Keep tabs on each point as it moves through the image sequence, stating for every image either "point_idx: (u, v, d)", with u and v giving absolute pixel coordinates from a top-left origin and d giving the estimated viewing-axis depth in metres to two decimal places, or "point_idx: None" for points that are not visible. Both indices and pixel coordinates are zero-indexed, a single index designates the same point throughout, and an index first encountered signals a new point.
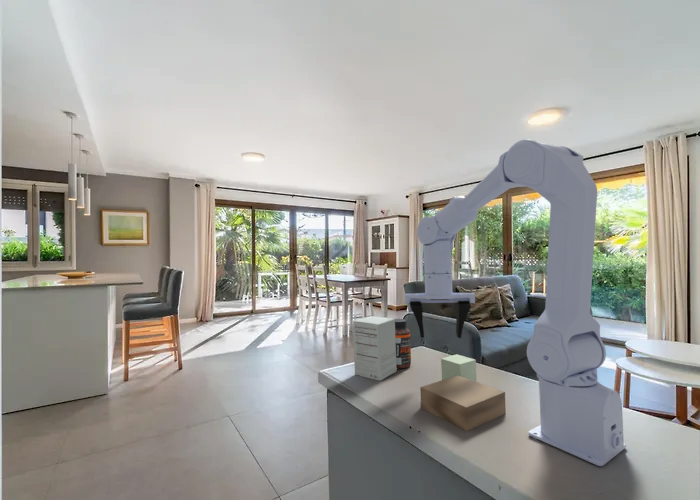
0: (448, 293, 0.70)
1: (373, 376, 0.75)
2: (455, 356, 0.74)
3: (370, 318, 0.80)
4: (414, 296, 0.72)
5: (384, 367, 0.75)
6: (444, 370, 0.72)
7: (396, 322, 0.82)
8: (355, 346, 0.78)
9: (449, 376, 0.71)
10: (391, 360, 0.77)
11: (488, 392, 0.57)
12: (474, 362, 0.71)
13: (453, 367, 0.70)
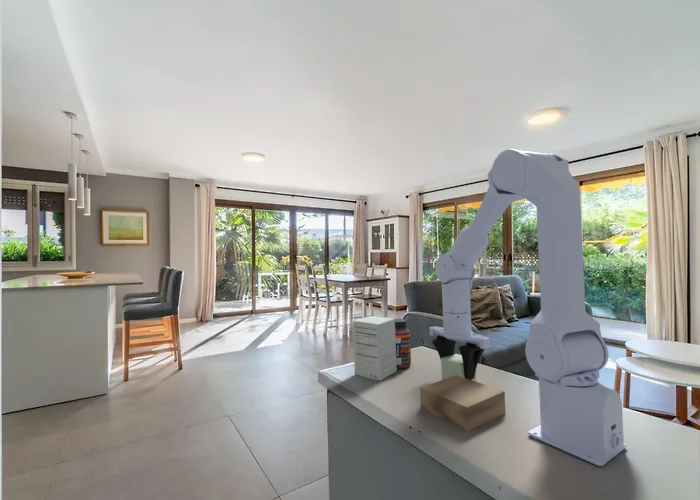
0: (456, 334, 0.69)
1: (373, 376, 0.75)
2: (455, 356, 0.74)
3: (370, 318, 0.80)
4: (434, 330, 0.75)
5: (384, 367, 0.75)
6: (444, 370, 0.72)
7: (396, 322, 0.82)
8: (355, 346, 0.78)
9: (449, 375, 0.71)
10: (391, 360, 0.77)
11: (487, 392, 0.57)
12: None
13: (453, 367, 0.70)
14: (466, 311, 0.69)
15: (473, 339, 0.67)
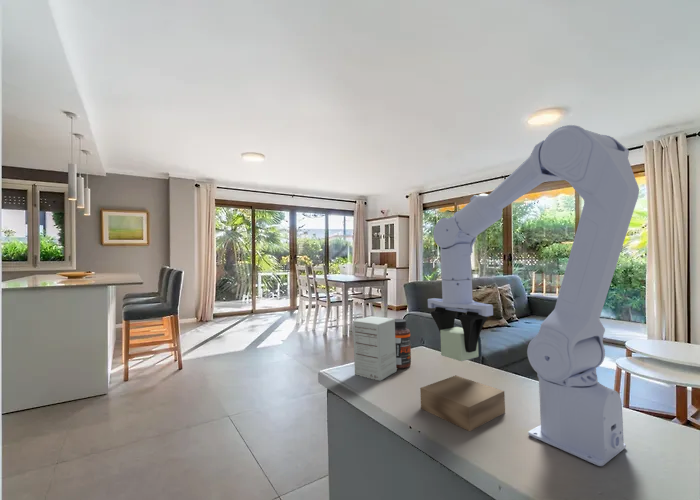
0: (456, 302, 0.64)
1: (373, 376, 0.75)
2: (455, 328, 0.68)
3: (370, 318, 0.80)
4: (433, 301, 0.70)
5: (384, 367, 0.75)
6: (443, 343, 0.67)
7: (396, 322, 0.82)
8: (355, 346, 0.78)
9: (449, 348, 0.65)
10: (391, 360, 0.77)
11: (488, 392, 0.57)
12: None
13: (453, 339, 0.64)
14: (468, 277, 0.64)
15: (474, 306, 0.61)
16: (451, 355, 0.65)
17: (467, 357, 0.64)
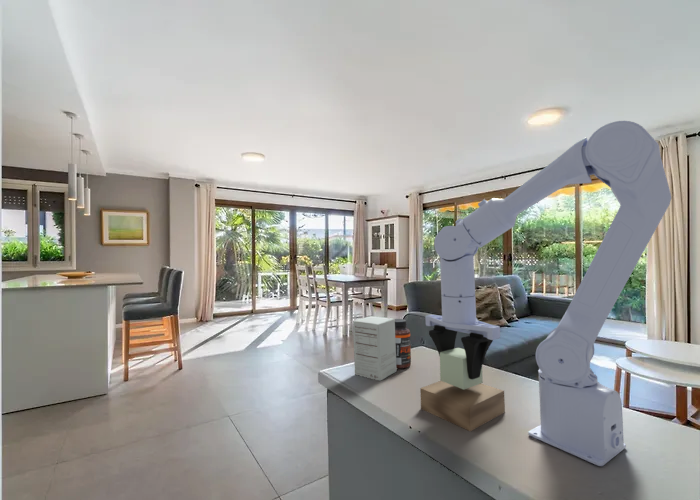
0: (458, 322, 0.56)
1: (373, 376, 0.75)
2: (457, 350, 0.61)
3: (370, 318, 0.80)
4: (431, 319, 0.63)
5: (384, 367, 0.75)
6: (443, 367, 0.59)
7: (396, 322, 0.82)
8: (355, 346, 0.78)
9: (449, 374, 0.58)
10: (391, 360, 0.77)
11: (487, 392, 0.57)
12: None
13: (454, 363, 0.57)
14: (474, 293, 0.58)
15: (479, 328, 0.54)
16: (452, 381, 0.57)
17: (470, 384, 0.56)
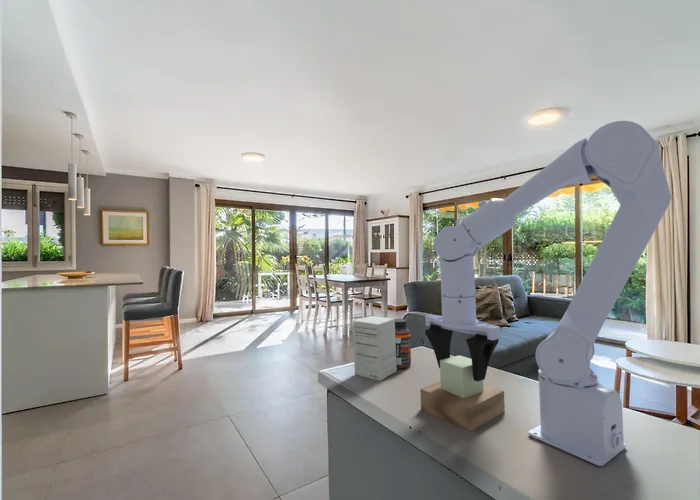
0: (458, 322, 0.56)
1: (373, 376, 0.75)
2: (457, 357, 0.61)
3: (370, 318, 0.80)
4: (431, 319, 0.63)
5: (384, 367, 0.75)
6: (443, 375, 0.59)
7: (396, 322, 0.82)
8: (355, 346, 0.78)
9: (449, 382, 0.58)
10: (391, 360, 0.77)
11: (487, 392, 0.57)
12: None
13: (454, 371, 0.57)
14: (474, 294, 0.58)
15: (479, 328, 0.54)
16: (452, 390, 0.57)
17: (470, 393, 0.56)
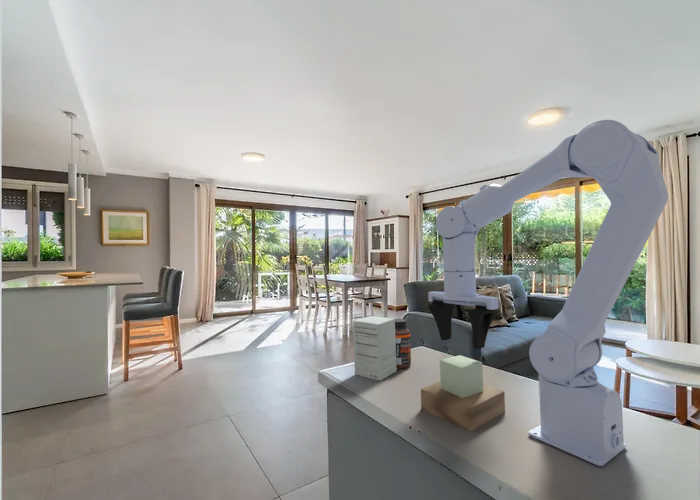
0: (459, 295, 0.61)
1: (373, 376, 0.75)
2: (457, 357, 0.61)
3: (370, 318, 0.80)
4: (434, 294, 0.67)
5: (384, 367, 0.75)
6: (443, 375, 0.59)
7: (396, 322, 0.82)
8: (355, 346, 0.78)
9: (449, 382, 0.58)
10: (391, 360, 0.77)
11: (488, 392, 0.57)
12: (480, 366, 0.58)
13: (454, 371, 0.57)
14: (473, 269, 0.61)
15: (479, 299, 0.58)
16: (451, 390, 0.57)
17: (469, 393, 0.56)
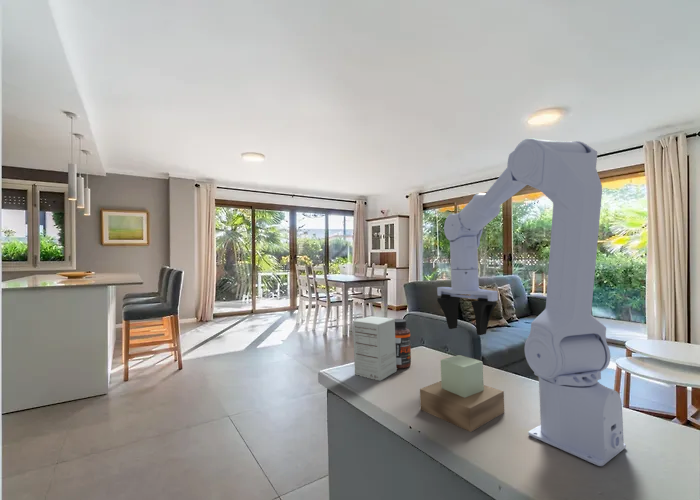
0: (464, 289, 0.71)
1: (373, 376, 0.75)
2: (457, 357, 0.61)
3: (370, 318, 0.80)
4: (442, 289, 0.77)
5: (384, 367, 0.75)
6: (444, 374, 0.59)
7: (396, 322, 0.82)
8: (355, 346, 0.78)
9: (450, 381, 0.58)
10: (391, 360, 0.77)
11: (487, 392, 0.57)
12: (481, 365, 0.58)
13: (455, 371, 0.57)
14: (473, 267, 0.71)
15: (481, 293, 0.68)
16: (453, 389, 0.57)
17: (471, 392, 0.56)
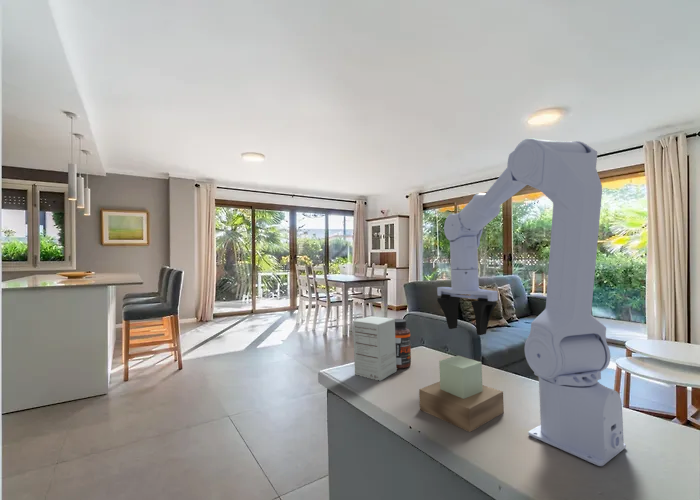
0: (464, 289, 0.71)
1: (373, 376, 0.75)
2: (456, 358, 0.61)
3: (370, 318, 0.80)
4: (442, 289, 0.77)
5: (384, 367, 0.75)
6: (442, 375, 0.59)
7: (396, 322, 0.82)
8: (355, 346, 0.78)
9: (449, 382, 0.58)
10: (391, 360, 0.77)
11: (486, 393, 0.57)
12: (480, 366, 0.58)
13: (454, 372, 0.57)
14: (473, 267, 0.71)
15: (481, 293, 0.68)
16: (452, 390, 0.57)
17: (470, 393, 0.56)
